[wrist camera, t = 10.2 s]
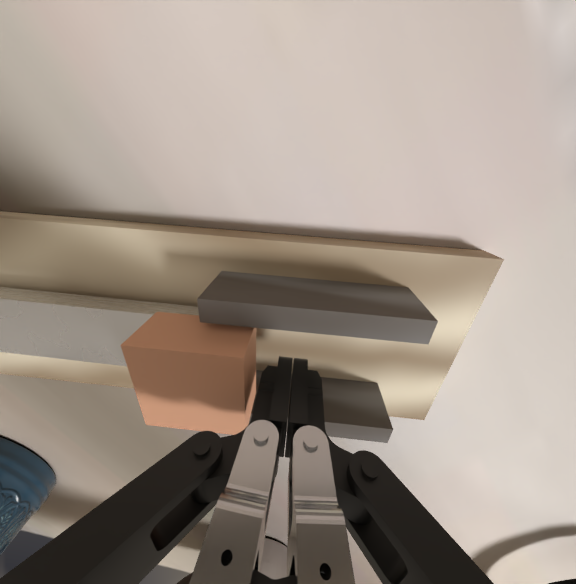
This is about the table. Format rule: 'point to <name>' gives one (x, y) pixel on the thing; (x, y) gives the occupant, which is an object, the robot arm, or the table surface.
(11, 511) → the canister
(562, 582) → the headset
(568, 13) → the table surface
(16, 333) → the strap
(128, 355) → the peach block
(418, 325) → the latch base
